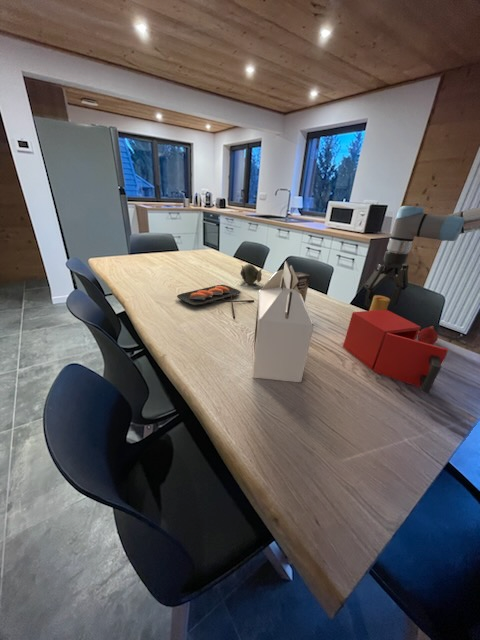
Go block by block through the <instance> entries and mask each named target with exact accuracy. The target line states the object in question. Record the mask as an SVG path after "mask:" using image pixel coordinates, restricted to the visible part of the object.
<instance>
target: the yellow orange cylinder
mask: <svg viewBox="0 0 480 640" xmlns="http://www.w3.org/2000/svg"><path fill="white" fill-rule="evenodd" d="M390 300H391V298H389V297H387V296H385V295H379V294H377V295H376V294H374V298H373V301H372V304H371V307H370V308H369V310H368V311H372V310H383V309H386V310H388V308H389V305H390Z"/></svg>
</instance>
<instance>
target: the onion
mask: <svg viewBox="0 0 480 640" xmlns="http://www.w3.org/2000/svg"><path fill="white" fill-rule="evenodd" d="M416 338H417V341H420V342H424V343H427V344H431V345H434V344H435V343H437V341H438V338H439V335H438V332H437V331H436V329H434V326H433V325H431V326H428V327H424V328H422V329H420V330H419V333H418V335H417V337H416Z"/></svg>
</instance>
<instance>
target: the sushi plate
mask: <svg viewBox="0 0 480 640" xmlns="http://www.w3.org/2000/svg"><path fill="white" fill-rule="evenodd" d="M241 293H242V291H241V290H239V289H237V288H234V287H231V286H229V285H226V284H217V285H213V286H209V287H204V288H200V289H195V290H191V291H186V292H183V293H180V294H177V295H176V297H177V298H178V300H180V301H182V302H184V303H186V304H188V305H190V306H194V307H195V306H197V307H198V306H202V305H205V304H209V303H231V311H232V317H233V319H235V318H236V314H235V309H234V303H254V302H255V300H254V299H248V300H247V299H245V300H243V299H242V300H233V297H234V296H237V295H240V294H241ZM228 298H230V300H225V299H228Z"/></svg>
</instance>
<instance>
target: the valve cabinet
mask: <svg viewBox="0 0 480 640" xmlns="http://www.w3.org/2000/svg"><path fill="white" fill-rule="evenodd" d="M421 328H422V326H420V325H418V324H417V323H414V322H412V321H411V320H408V319H406V318H404V317H402V316H400V315H398V314H396V313H394V312H393V311H390V310H389V309H387V310H386V309H383V310H372V311H369V310H362V311H352V312H351V317H350V320H349V324H348V327H347V331H346V335H345V338H344V340H343V344H342V348H343V349H345V350H346V351H347V352H349V353H350V354H351V355H352V356H354V357H355V358H356V359H358V360H359V361H360V362H361V363H362V364H364V365H365V366H366V367H367V368H368V369H370V370H374V368H375V365H376V362H377V359H378V356H379V354H380V351H381V348H382V345H383V343H384V340H385V337H386V334H387V333H390V334H394V335H398V336H402V337H405V338H409V339H413V340H416V341H417V338H418V337H417V335H418V333H419V332H420V331H421Z"/></svg>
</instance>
